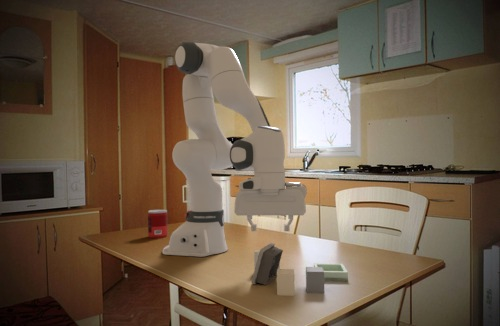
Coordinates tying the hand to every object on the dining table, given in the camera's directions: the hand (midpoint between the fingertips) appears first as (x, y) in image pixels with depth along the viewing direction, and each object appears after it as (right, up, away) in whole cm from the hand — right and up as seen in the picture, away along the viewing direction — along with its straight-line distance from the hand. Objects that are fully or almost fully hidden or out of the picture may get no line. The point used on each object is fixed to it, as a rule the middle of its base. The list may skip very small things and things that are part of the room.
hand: (270, 231), depth 106 cm
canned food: (-45, -12, +51) cm, 69 cm away
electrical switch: (-1, -11, -9) cm, 15 cm away
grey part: (+10, -11, -17) cm, 22 cm away
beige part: (+3, -11, -18) cm, 22 cm away
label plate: (-1, -11, -2) cm, 11 cm away
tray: (+16, -11, -6) cm, 20 cm away
